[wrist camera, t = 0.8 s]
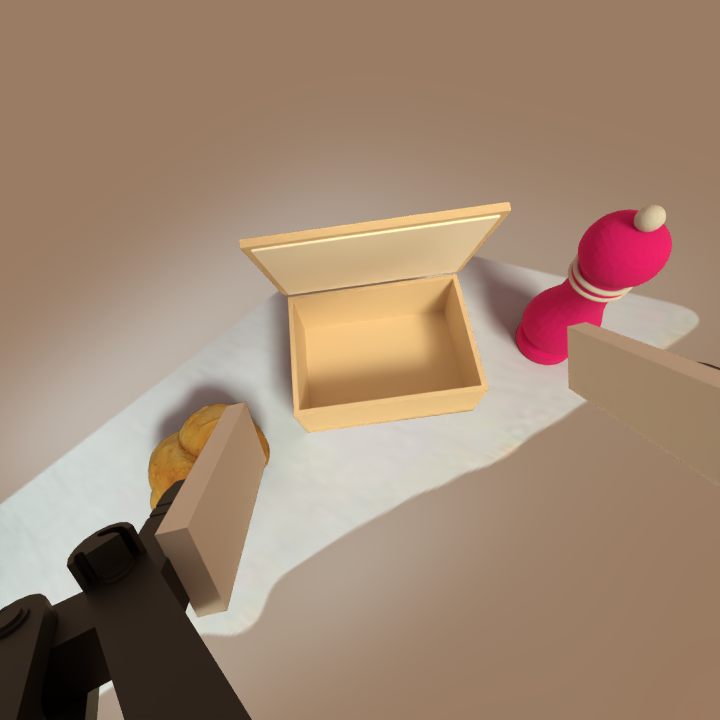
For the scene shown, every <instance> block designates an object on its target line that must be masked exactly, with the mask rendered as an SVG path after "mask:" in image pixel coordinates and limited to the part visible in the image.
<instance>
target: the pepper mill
mask: <svg viewBox="0 0 720 720" xmlns="http://www.w3.org/2000/svg"><path fill="white" fill-rule="evenodd" d="M665 219H666V213H665V211H664V209H663V208H662V207H660V206H657V205H649V206H646V207H644V208H642V209H641V210H640V211H637V210H622V211H616V212H613V213H610V214H607V215H606V216H604V217H602V218H600V219H599V220H597V222H595V223H594V224H593V225H592V226H590V227H589V229H588V230H587V231H586V232H585V234H584V235H583V237H582V239H581V241H580V243H579V247H578V255H577V256H576V257H575V259H574V260H573V262H572V263H571V264H570V266H569V269H568V278H567V279H566V280H565V282H564V283H563V284H561V285H558V286H555V287H552V288H549V289H547V290H545V291H544V292H542V293H540V294H539V295H537V296H536V297H535V298H534V299H533V300H532V301H531V302H530V303H529V305H528V306H527V307H526V309H525V311H524V314H523V319H522V320H523V321H522V323H521V324H520V326H519V327H518V330H517V332H516V342H517V345H518V347H519V349H520V351H521V352H522V353H523V354H524V355H525V356H526V357H527V358H528V359H530V360H531V361H533V362H535V363H538V364H543V365H554V364H558V363H560V362H562V361H564V360H565V359H566V358H568V334H567V326H572V325H576V324H580V323H585V322H587V323H590V324H592V325H595V326H598V327H600V326H601V322H602V316H603V311H604V308H605V306H606V304H607V303H608V302H612V301H615V300H618V299H620V298H622V297H623V296H624V295H625V294H626V293H627V292H628V291H629V290H631V289H632V288H633V287H635V286H638V285H640V284H642V283H645V282H647V281H649V280H650V279H652V278H653V277H654V276H655V275H657V273H658V272H659V271H660V270H661V269H662V268H663V267H664V265H665V264H666V262H667V261H668V258H669V256H670V253H671V249H672V239H671V235H670V232H669V231H668V229H667V227H666V226H665V225H664V224H663V223H664V221H665Z"/></svg>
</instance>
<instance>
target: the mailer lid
mask: <svg viewBox="0 0 720 720" xmlns="http://www.w3.org/2000/svg"><path fill="white" fill-rule="evenodd" d="M510 211H511V207H510V202H506V203H498V204H491V205H484V206H477V207H470V208H462V209H455V210H448V211H441V212H434V213H427V214H419V215H412V216H405V217H398V218H391V219H384V220H376V221H369V222H363V223H355V224H348V225H341V226H334V227H326V228H319V229H312V230H305V231H298V232H291V233H284V234H277V235H269V236H262V237H255V238H248V239H241V240H239V243H240V249H241V250H242V251H243V252H244V253H245V254H246V255H247V256H248V257H249V258H250V259H251V261H252V262H253V263H254V264H255V265H256V266H257V267H258V268H259V269H260V270H261V271H262V272H263V273H264V275H265V276H266V277H267V278H268V279H269V280H270V281H271V282H272V283H273V284H274V285H275V286H276V287H277V288H278V290H279V291H280V292H281V293H282V294H283V295H293V294H300V293H308V292H315V291H322V290H329V289H337V288H344V287H351V286H358V285H365V284H373V283H380V282H387V281H394V280H401V279H409V278H416V277H423V276H430V275H437V274H445V273H452V272H457V271H461V269H462V268H463V267H464V266H465V265H466V263H467V262H468V261H469V260H470V259H471V258H472V256H473V255H474V254H475V253H476V252H477V250H478V249H479V248H480V247H481V246H482V244H483V243H484V242H485V241H486V240H487V238H488V237H489V236H490V235H491V234H492V233H493V231H494V230H495V229H496V228H497V226H498V225H499V224H500V223H501V222H502V221H503V219H504V218H505V217H506V216H507V215H508V213H509V212H510Z"/></svg>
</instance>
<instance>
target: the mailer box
mask: <svg viewBox="0 0 720 720" xmlns="http://www.w3.org/2000/svg"><path fill="white" fill-rule="evenodd" d="M288 311H289V330H290V348H291V367H292V386H293V405H294V417H295V418H296V419H297V420H298V421H299V422H300V424H301V425H302V426H303V427H304V428H305V430H306V431H307V432H308V433H311V432H318V431H325V430H333V429H340V428H347V427H355V426H362V425H369V424H377V423H384V422H391V421H399V420H406V419H413V418H421V417H428V416H436V415H443V414H450V413H458V412H465V411H472V410H473V409H474V408H475V406H476V405H477V404H478V403H479V401H480V400H481V399H482V397H483V396H484V395H485V394H486V392H487V391H488V390H489V389H488V386H487V382H486V378H485V375H484V371H483V368H482V364H481V360H480V357H479V353H478V350H477V346H476V342H475V339H474V335H473V331H472V328H471V324H470V321H469V317H468V313H467V310H466V306H465V302H464V299H463V295H462V292H461V288H460V284H459V281H458V277H457V274H452V275H444V276H437V277H430V278H423V279H416V280H408V281H401V282H394V283H387V284H380V285H372V286H365V287H358V288H351V289H343V290H336V291H329V292H322V293H315V294H307V295H300V296H293V297H288Z"/></svg>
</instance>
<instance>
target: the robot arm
mask: <svg viewBox="0 0 720 720" xmlns="http://www.w3.org/2000/svg"><path fill="white" fill-rule="evenodd" d="M567 334H568V373H569V389H571V390H572V391H574V392H575V393H577V394H578V395H580V396H581V397H583V398H585V399H586V400H588V401H589V402H591V403H592V404H594V405H595V406H597V407H598V408H600V409H601V410H603V411H604V412H606V413H607V414H609V415H610V416H612V417H614V418H615V419H617V420H618V421H619V422H621V423H623V424H624V425H626V426H627V427H629V428H630V429H632V430H633V431H635V432H636V433H638V434H639V435H641V436H642V437H644V438H645V439H647V440H648V441H650V442H651V443H653V444H654V445H656V446H657V447H659V448H661V449H662V450H664V451H665V452H667V453H668V454H670V455H671V456H673V457H674V458H676V459H677V460H679V461H680V462H682V463H683V464H685V465H687V466H688V467H689V468H691V469H692V470H694V471H695V472H697V473H699V474H700V475H702V476H703V477H705V478H706V479H708V480H709V481H711V482H712V483H714V484H715V485H717V486H718V487H720V368H718V367H715V366H713V365H710V364H706V363H701V362H695V361H692V360H689V359H687V358H684V357H681V356H678V355H676V354H673V353H670V352H667V351H665V350H662V349H659V348H656V347H653V346H651V345H648V344H645V343H642V342H640V341H637V340H634V339H631V338H628V337H626V336H623V335H620V334H617V333H615V332H612V331H609V330H606V329H603V328H601V327H598V326H595V325H592V324H590V323H587V322H585V323H580V324H576V325H572V326H567ZM265 462H266V457H265V455H264V452H263V449H262V446H261V443H260V441H259V438H258V435H257V432H256V429H255V427H254V424H253V421H252V418H251V415H250V413H249V410H248V407H247V404H246V402H243V403H238V404H234V405H230V406H227V407H226V408H225V410H224V412H223V414H222V416H221V417H220V419H219V421H218V423H217V424H216V426H215V428H214V430H213V432H212V433H211V435H210V437H209V439H208V441H207V442H206V444H205V446H204V448H203V449H202V451H201V453H200V455H199V457H198V458H197V460H196V462H195V464H194V466H193V467H192V469H191V471H190V473H189V474H188V476H187V478H186V479H183V480H178V481H176V482H175V483H174V484H173V485H172V486H171V487H169V488H168V489H167V490H166V491H165V492H164V493H163V495H162V496H161V498H160V500H159V501H158V503H157V504H156V508H154V509H153V511H152V513H151V514H150V518H149V519H147V521H146V522H145V524H144V526H143V527H142V529H141V530H140V532H139V534H137V532H136V530H135V528H134V526H133V525H132V524H130V523H128V522H119V523H116V524H112V525H109V526H107V527H105V528H103V529H101V530H99V531H97V532H95V533H94V534H92V535H91V536H89V537H88V538H86V539H85V540H84V541H83V542H82V543H81V544H79V545H78V546H77V547H76V548H75V549H74V551H73V552H72V554H71V555H70V557H69V558H68V562H67V567H68V569H69V570H70V572H71V573H72V575H73V576H74V578H75V579H76V581H77V583H78V584H79V586H80V587H81V589H82V590H83V592H81V593H79V594H77V595H75V596H72V597H70V598H68V599H66V600H64V601H62V602H60V603H58V604H55V605H53V606H52V605H51V603H50V602H49V601H48V599H47V598H46V596H44V595H42V594H33V595H28V596H26V597H24V598H21V599H19V600H16V601H15V602H13V603H12V604H10V605H8V606H6V607H4V608H3V609H1V610H0V720H97V711H98V699H99V687H100V686H101V685H103V684H105V683H107V682H109V681H111V680H112V682H113V685H114V688H115V691H116V694H117V697H118V701H119V704H120V707H121V710H122V713H123V717H124V720H252V719H251V718H250V716H249V714H248V713H247V711H246V710H245V708H244V706H243V705H242V703H241V701H240V700H239V698H238V697H237V695H236V693H235V692H234V690H233V689H232V687H231V685H230V684H229V682H228V681H227V679H226V677H225V676H224V674H223V673H222V671H221V669H220V668H219V666H218V664H217V663H216V661H215V660H214V658H213V657H212V655H211V653H210V652H209V650H208V648H207V647H206V645H205V644H204V642H203V640H202V639H201V637H200V636H199V634H198V632H197V631H196V629H195V627H194V626H193V624H192V623H191V621H190V619H189V618H188V616H187V615H186V613H185V612H186V609H187V606H188V604H189V602H190V604H191V606H192V608H193V609H194V611H195V613H196V615H197V617H201V616H205V615H210V614H214V613H218V612H222V611H226V610H227V609H228V605H229V601H230V597H231V593H232V589H233V586H234V582H235V578H236V574H237V570H238V566H239V562H240V559H241V555H242V551H243V547H244V543H245V539H246V536H247V532H248V528H249V524H250V520H251V516H252V512H253V509H254V505H255V501H256V497H257V493H258V489H259V485H260V482H261V478H262V474H263V470H264V466H265Z"/></svg>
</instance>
